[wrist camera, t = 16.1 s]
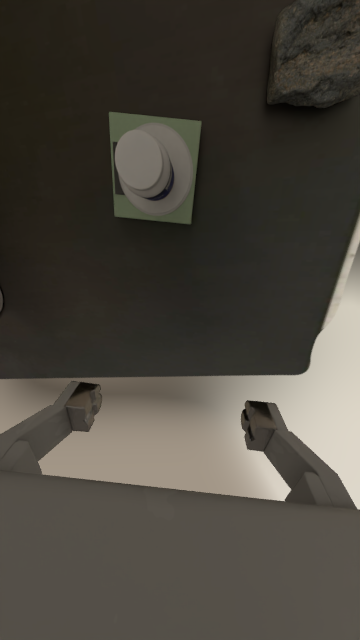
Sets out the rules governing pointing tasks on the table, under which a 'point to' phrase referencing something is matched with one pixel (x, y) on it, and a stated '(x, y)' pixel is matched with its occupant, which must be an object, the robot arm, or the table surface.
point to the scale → (183, 156)
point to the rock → (315, 53)
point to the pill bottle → (144, 165)
